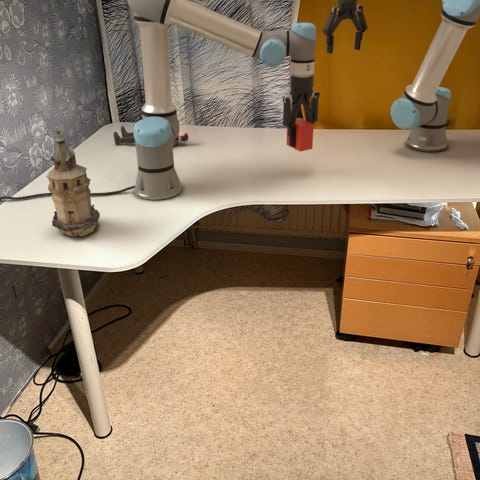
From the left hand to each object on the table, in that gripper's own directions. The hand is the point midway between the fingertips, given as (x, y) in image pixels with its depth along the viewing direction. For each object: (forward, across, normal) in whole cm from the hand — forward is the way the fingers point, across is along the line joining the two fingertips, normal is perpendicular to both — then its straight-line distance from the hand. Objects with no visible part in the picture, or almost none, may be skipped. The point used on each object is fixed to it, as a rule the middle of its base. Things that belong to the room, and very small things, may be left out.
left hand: (299, 144), depth 183 cm
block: (+1, 0, 0) cm, 1 cm away
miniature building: (+11, -78, 0) cm, 79 cm away
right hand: (-22, +41, +29) cm, 55 cm away
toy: (+11, -32, +58) cm, 67 cm away
